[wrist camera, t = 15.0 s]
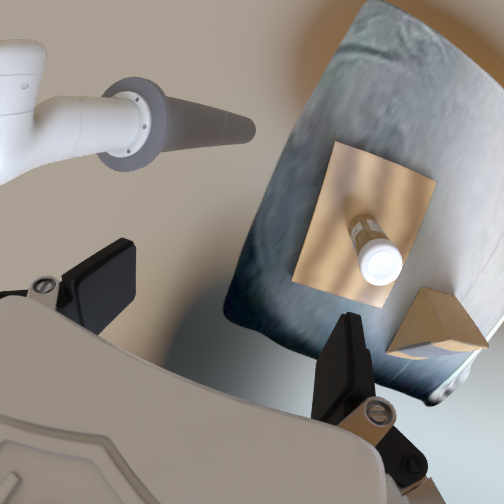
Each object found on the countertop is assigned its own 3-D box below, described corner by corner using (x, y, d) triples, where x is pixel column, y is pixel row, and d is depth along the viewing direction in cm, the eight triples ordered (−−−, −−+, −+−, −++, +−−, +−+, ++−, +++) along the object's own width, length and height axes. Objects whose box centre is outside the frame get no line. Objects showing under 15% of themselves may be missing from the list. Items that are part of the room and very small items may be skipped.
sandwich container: (383, 353, 45) (394, 414, 32) (419, 285, 39) (450, 338, 26) (418, 360, 44) (434, 416, 30) (455, 295, 38) (490, 346, 24)
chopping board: (292, 276, 44) (291, 281, 43) (334, 141, 35) (335, 140, 33) (380, 303, 42) (381, 308, 41) (432, 180, 33) (436, 181, 31)
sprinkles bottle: (342, 223, 37) (352, 257, 25) (369, 207, 36) (393, 235, 23) (357, 249, 38) (371, 294, 26) (383, 235, 36) (409, 274, 24)
